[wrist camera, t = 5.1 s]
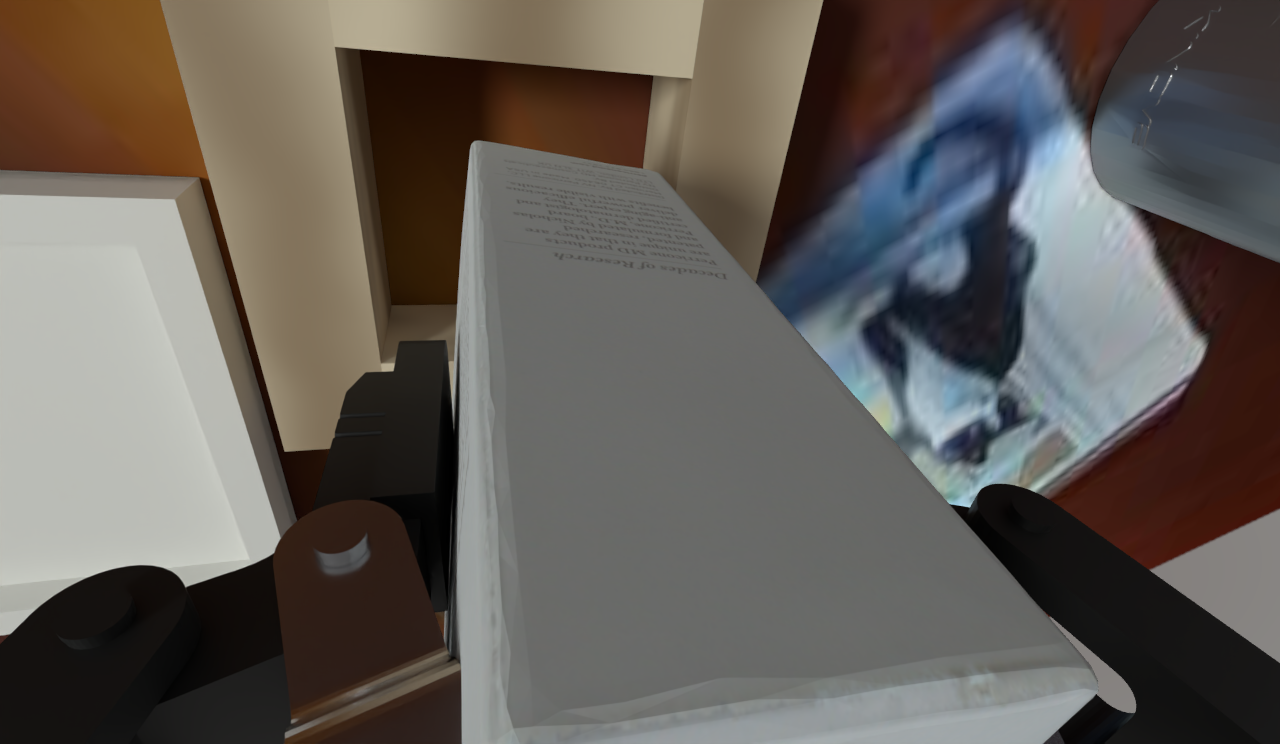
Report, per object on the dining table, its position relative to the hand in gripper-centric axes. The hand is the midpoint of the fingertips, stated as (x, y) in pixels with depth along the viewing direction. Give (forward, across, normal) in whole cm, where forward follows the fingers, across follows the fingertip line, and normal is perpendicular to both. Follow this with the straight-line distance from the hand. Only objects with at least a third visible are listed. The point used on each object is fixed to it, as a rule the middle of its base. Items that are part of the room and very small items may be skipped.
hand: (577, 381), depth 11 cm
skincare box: (+5, 0, 0) cm, 5 cm away
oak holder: (+10, 0, 0) cm, 10 cm away
